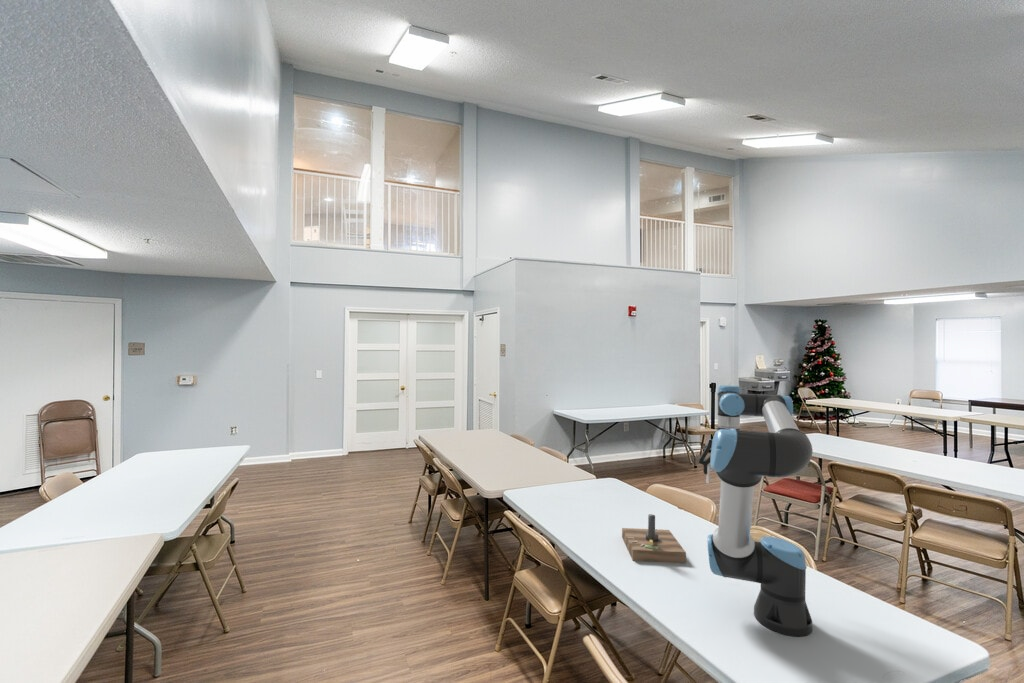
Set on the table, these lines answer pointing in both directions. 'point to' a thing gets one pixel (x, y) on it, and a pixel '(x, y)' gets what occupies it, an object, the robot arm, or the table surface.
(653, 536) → the dark grey lever
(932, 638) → the table surface
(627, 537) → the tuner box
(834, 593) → the table surface
